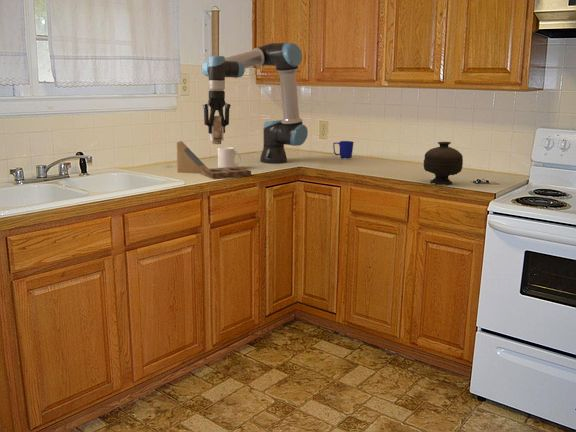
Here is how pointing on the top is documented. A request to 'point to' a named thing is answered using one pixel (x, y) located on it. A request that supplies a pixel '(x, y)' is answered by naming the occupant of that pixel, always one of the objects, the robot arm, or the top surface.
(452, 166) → the pot
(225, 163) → the mug
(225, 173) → the board
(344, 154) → the mug
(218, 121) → the peg
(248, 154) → the top surface
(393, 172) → the top surface
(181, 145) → the sandwich container
